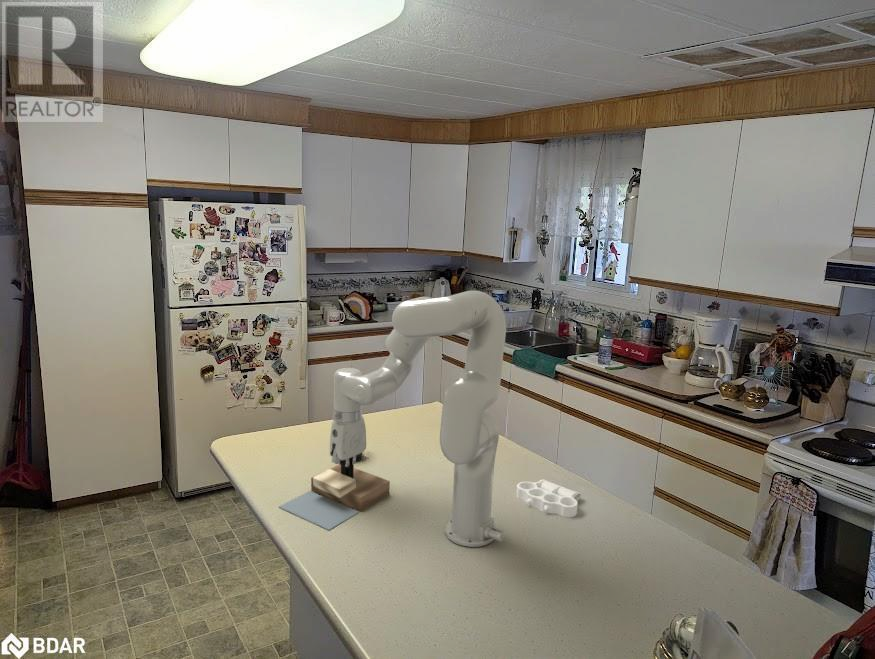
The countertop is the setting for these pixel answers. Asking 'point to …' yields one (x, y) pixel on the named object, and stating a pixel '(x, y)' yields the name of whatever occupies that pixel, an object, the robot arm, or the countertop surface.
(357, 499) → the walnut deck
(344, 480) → the maple tile
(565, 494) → the knuckle duster
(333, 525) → the slate mat
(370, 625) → the countertop surface
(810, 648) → the countertop surface
